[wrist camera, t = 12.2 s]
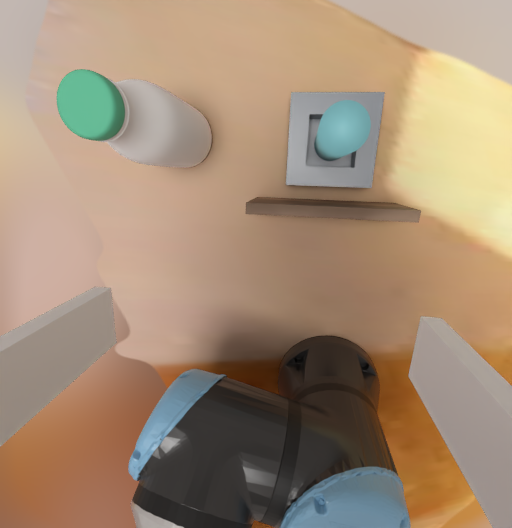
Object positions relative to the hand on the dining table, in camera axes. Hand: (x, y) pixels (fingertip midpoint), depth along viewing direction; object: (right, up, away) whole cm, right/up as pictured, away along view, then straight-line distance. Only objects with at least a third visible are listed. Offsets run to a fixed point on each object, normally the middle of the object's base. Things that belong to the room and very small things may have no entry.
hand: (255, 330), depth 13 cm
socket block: (+9, +18, +25) cm, 32 cm away
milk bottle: (-9, +20, +28) cm, 35 cm away
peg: (+9, +18, +24) cm, 31 cm away
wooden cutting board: (+9, +11, +27) cm, 31 cm away
